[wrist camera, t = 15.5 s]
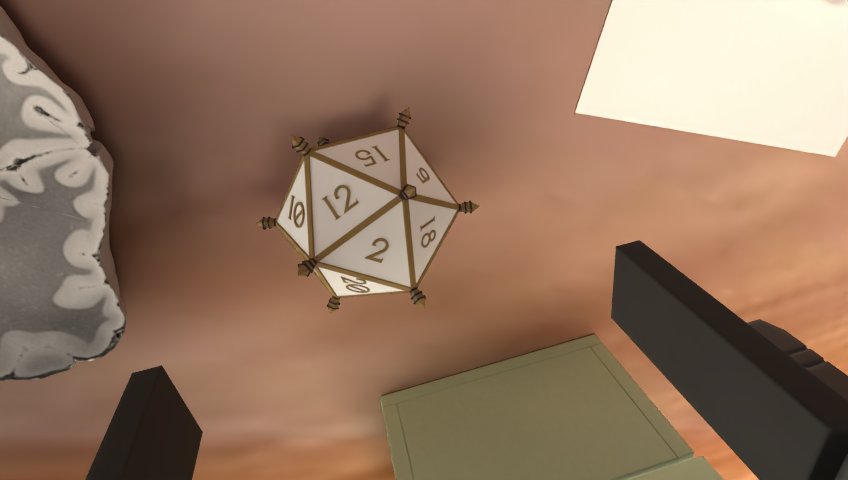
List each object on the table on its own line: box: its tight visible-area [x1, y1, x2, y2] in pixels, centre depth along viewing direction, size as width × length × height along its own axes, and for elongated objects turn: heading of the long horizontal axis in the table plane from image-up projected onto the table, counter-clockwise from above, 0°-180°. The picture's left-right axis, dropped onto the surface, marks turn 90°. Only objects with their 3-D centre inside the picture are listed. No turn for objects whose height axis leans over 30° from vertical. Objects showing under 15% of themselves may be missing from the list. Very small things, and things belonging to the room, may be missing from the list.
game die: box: [256, 107, 479, 314], centre depth 21 cm, size 9×8×10 cm
